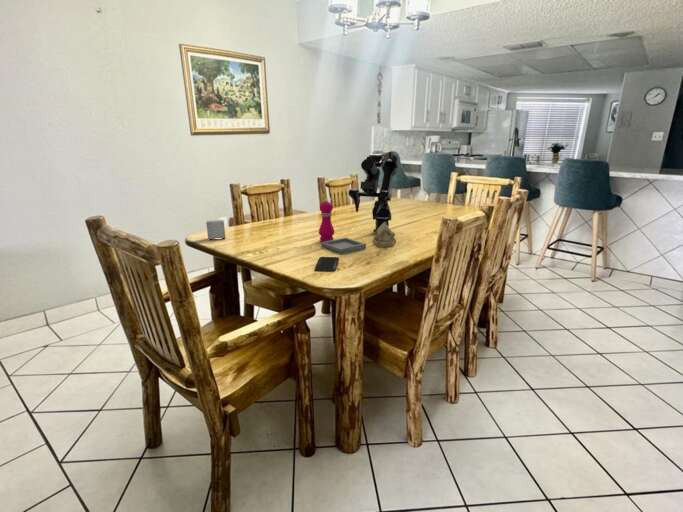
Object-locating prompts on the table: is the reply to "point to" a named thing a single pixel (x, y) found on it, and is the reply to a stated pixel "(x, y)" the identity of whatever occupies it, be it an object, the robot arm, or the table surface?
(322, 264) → the phone
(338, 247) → the grey tray
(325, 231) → the pepper mill
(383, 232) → the ceramic model
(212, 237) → the medicine box
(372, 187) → the robot arm
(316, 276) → the table surface
